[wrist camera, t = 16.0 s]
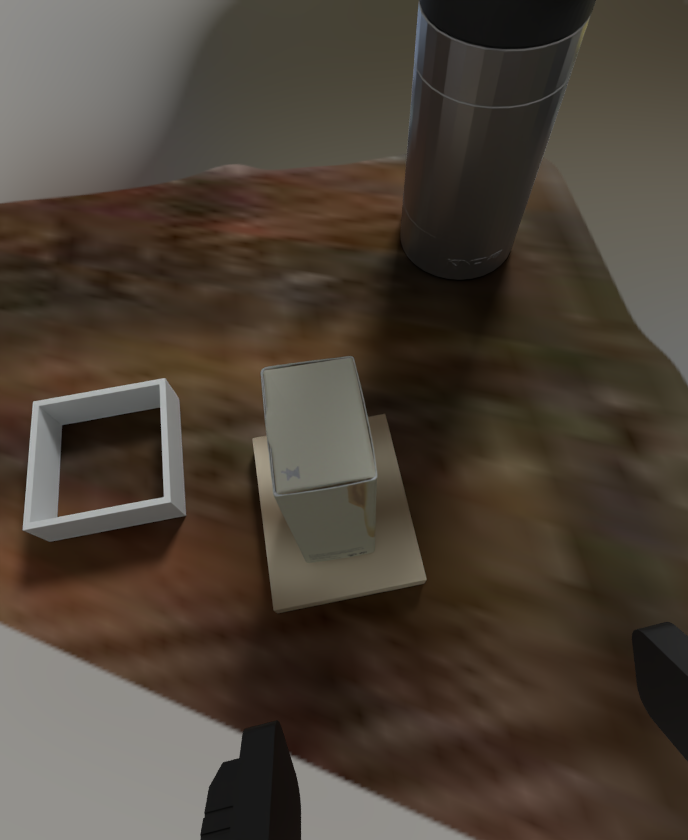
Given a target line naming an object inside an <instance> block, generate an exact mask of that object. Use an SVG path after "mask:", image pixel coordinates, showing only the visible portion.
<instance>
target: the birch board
mask: <svg viewBox="0 0 688 840" xmlns="http://www.w3.org/2000/svg"><path fill="white" fill-rule="evenodd" d="M368 420H369V425H370V430H371V435H372V440H373V446H374V452H375V460H376V467H377V474H378V476H377V494H376V528H375V551H374V552H373V553H369V554H364V555H359V556H354V557H348V558H342V559H335V560H328V561H321V562H314V563H307V562H306V561H305V559H304V557H303V555H302V553H301V551H300V548H299V546H298V544H297V542H296V540H295V538H294V536H293V534H292V532H291V530H290V528H289V526H288V524H287V522H286V520H285V518H284V516H283V514H282V512H281V510H280V508H279V506H278V504H277V502H276V500H275V497H274V495H273V488H272V479H271V471H270V461H269V452H268V443H267V436H263V437H258V438H253V447H254V455H255V463H256V471H257V479H258V487H259V496H260V504H261V512H262V520H263V528H264V536H265V544H266V553H267V561H268V569H269V577H270V585H271V593H272V601H273V610H274V611H275V612H276V613H282V612H287V611H292V610H297V609H302V608H307V607H312V606H317V605H322V604H327V603H331V602H336V601H341V600H346V599H351V598H356V597H361V596H366V595H371V594H376V593H381V592H386V591H391V590H396V589H401V588H406V587H411V586H415V585H420V584H424V583H425V582H426V580H427V579H426V575H425V571H424V567H423V563H422V559H421V555H420V551H419V547H418V543H417V539H416V535H415V531H414V527H413V523H412V519H411V515H410V511H409V507H408V503H407V499H406V495H405V491H404V487H403V483H402V479H401V475H400V471H399V467H398V463H397V459H396V455H395V451H394V447H393V443H392V439H391V435H390V431H389V427H388V423H387V419H386V415H385V414H381V415H376V416H371V417H368Z"/></svg>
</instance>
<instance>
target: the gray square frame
mask: <svg viewBox="0 0 688 840" xmlns="http://www.w3.org/2000/svg"><path fill="white" fill-rule="evenodd" d="M154 408H160V411H161V436H162V462H163V487H164V497H162V498H157V499H151V500H146V501H141V502H136V503H130V504H125V505H120V506H114V507H109V508H104V509H99V510H93V511H88V512H83V513H78V514H72V515H67V516H62V517H57V513H58V494H59V475H60V456H61V437H62V425H66V424H72V423H77V422H83V421H88V420H94V419H99V418H105V417H110V416H116V415H121V414H127V413H132V412H138V411H143V410H149V409H154ZM182 516H186V507H185V490H184V472H183V455H182V438H181V420H180V403H179V398H178V396H177V395H176V394H175V392H174V391H173V389H172V388H171V386H170V385H169V383H168V382H167V380H166V379H165V378H163V379H158V380H152V381H146V382H141V383H135V384H130V385H124V386H118V387H113V388H107V389H102V390H96V391H90V392H85V393H79V394H74V395H68V396H62V397H57V398H51V399H46V400H40V401H34V402H33V409H32V422H31V434H30V446H29V459H28V471H27V483H26V496H25V508H24V520H23V531H25V532H28V533H30V534H32V535H35V536H37V537H39V538H42V539H44V540H47V541H49V542H52V541H57V540H62V539H68V538H73V537H78V536H83V535H88V534H94V533H99V532H104V531H109V530H115V529H120V528H125V527H130V526H135V525H141V524H146V523H151V522H156V521H161V520H167V519H172V518H177V517H182Z"/></svg>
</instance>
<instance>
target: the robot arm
mask: <svg viewBox="0 0 688 840" xmlns="http://www.w3.org/2000/svg"><path fill="white" fill-rule="evenodd" d="M595 1H596V0H419V6H418V19H417V32H416V43H415V56H414V59H415V60H414V72H413V84H412V97H411V109H410V122H409V135H408V146H407V158H406V171H405V183H404V194H403V206H402V219H401V232H400V234H401V244H402V247H403V250H404V251H405V253H406V255H407V256H408V258H409V259H410V260H411V261H412V262H413V263H414V264H415V265H416V266H418V267H419V268H421V269H422V270H424V271H426V272H428V273H430V274H432V275H435V276H438V277H442V278H446V279H457V280H462V279H473V278H476V277H480V276H484V275H486V274H488V273H490V272H492V271H494V270H495V269H496V268H498V267H499V266H500V265H502V263H503V262H504V261H505V260H506V258H507V257H508V255H509V253H510V250H511V248H512V245H513V242H514V239H515V236H516V233H517V230H518V227H519V225H520V222H521V219H522V216H523V213H524V211H525V208H526V205H527V202H528V199H529V196H530V193H531V190H532V187H533V184H534V181H535V178H536V175H537V172H538V169H539V166H540V164H541V161H542V158H543V155H544V152H545V149H546V146H547V143H548V140H549V137H550V134H551V131H552V128H553V125H554V122H555V119H556V116H557V114H558V111H559V108H560V105H561V102H562V99H563V96H564V93H565V90H566V87H567V84H568V81H569V78H570V75H571V72H572V68H573V66H574V63H575V60H576V57H577V54H578V51H579V48H580V45H581V42H582V39H583V36H584V33H585V30H586V27H587V25H588V21H589V19H590V15H591V12H592V10H593V7H594V4H595ZM632 643H633V652H634V661H635V670H636V679H637V687H638V692H639V695H640V698H641V700H642V703H643V705H644V707H645V709H646V710H647V712H648V714H649V715H650V717H651V718H652V719H653V721H654V722H655V723H656V724H657V725H658V727H659V728H660V729H661V730H662V731H663V733H664V734H665V735H666V736H667V737H668V739H669V740H670V741H671V742H672V743H673V745H674V746H675V747H676V748H677V749H678V751H679V752H680V753H681V754H682V755H683V756H684V758H685V759H686V760H687V761H688V636H687V635H685V634H684V633H683V632H682V631H681V630H680V629H678V628H677V627H676V626H675V625H674V624H672V623H670V622H664V623H660V624H656V625H652V626H648V627H645V628H641V629H637V630H634V631H633V633H632ZM201 840H301V803H300V793H299V787H298V781H297V777H296V773H295V770H294V767H293V763H292V760H291V757H290V754H289V750H288V747H287V744H286V741H285V737H284V734H283V731H282V728H281V725H280V723H279V721H273V722H269V723H265V724H261V725H258V726H254V727H250V728H246V729H244V731H243V735H242V742H241V750H240V758H239V759H234V760H231V761H227V762H223V763H222V765H221V767H220V769H219V770H218V772H217V774H216V776H215V778H214V779H213V781H212V783H211V785H210V786H209V791H208V796H207V802H206V807H205V818H203V823H202V829H201Z"/></svg>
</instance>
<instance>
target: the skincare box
mask: <svg viewBox="0 0 688 840" xmlns="http://www.w3.org/2000/svg"><path fill="white" fill-rule="evenodd" d="M261 383H262V394H263V405H264V415H265V425H266V434H267V443H268V452H269V461H270V471H271V479H272V488H273V495H274V497H275V500H276V502H277V504H278V506H279V508H280V510H281V512H282V514H283V516H284V518H285V520H286V522H287V524H288V526H289V528H290V530H291V532H292V534H293V536H294V538H295V540H296V542H297V544H298V546H299V548H300V551H301V553H302V555H303V557H304V559H305V561H306V562H307V563H314V562H321V561H328V560H335V559H342V558H348V557H354V556H359V555H364V554H369V553H373V552H374V551H375V528H376V494H377V476H378V474H377V467H376V460H375V452H374V446H373V440H372V435H371V430H370V425H369V420H368V415H367V411H366V406H365V401H364V397H363V393H362V389H361V384H360V380H359V376H358V372H357V368H356V364H355V360H354V357H352V356H346V357H339V358H330V359H322V360H313V361H306V362H299V363H290V364H283V365H277V366H269V367H265V368H263V369H262V371H261Z"/></svg>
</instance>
